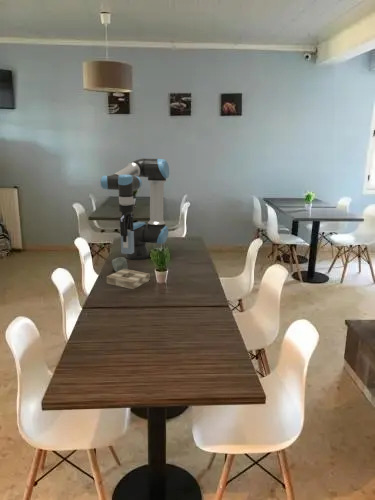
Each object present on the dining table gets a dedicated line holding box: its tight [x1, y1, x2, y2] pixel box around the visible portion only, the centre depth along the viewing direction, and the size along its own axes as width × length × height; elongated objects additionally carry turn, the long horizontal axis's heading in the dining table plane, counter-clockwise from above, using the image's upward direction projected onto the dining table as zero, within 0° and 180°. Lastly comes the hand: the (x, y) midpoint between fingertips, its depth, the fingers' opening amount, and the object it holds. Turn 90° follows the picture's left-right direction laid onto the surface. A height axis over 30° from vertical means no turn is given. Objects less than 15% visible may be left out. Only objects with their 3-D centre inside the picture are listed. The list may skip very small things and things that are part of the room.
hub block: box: [106, 268, 151, 290], centre depth 234 cm, size 16×18×4 cm
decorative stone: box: [111, 256, 129, 273], centre depth 252 cm, size 13×11×10 cm
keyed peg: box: [120, 229, 134, 255], centre depth 228 cm, size 4×6×13 cm, turn 73°
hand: (127, 246), depth 229 cm, fingers closed on keyed peg, 4 cm apart
